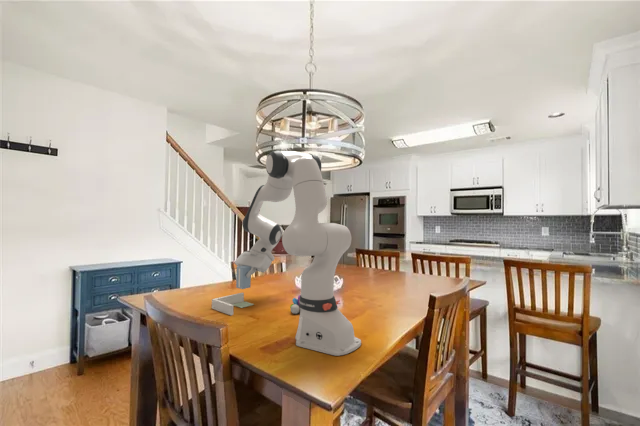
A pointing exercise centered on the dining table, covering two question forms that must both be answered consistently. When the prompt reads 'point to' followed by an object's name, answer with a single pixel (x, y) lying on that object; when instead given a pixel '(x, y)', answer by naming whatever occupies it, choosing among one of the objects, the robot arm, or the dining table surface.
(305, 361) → the dining table surface
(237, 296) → the back wall
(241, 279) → the block
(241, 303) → the pad
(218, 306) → the side wall
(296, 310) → the colourful small cluster
